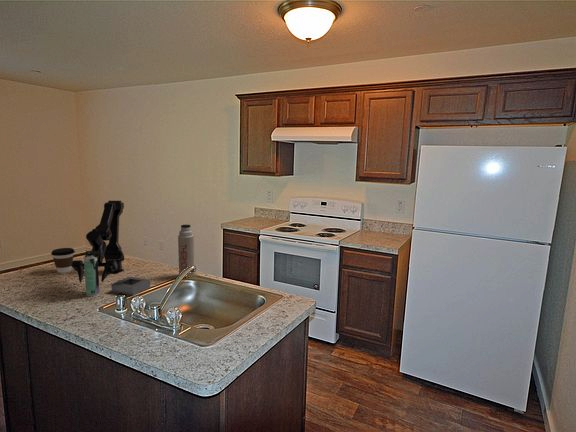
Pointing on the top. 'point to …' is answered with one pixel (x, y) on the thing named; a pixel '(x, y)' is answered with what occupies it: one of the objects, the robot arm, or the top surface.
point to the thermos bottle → (186, 248)
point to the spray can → (91, 275)
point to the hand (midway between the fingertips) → (91, 281)
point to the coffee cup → (63, 259)
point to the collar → (130, 285)
